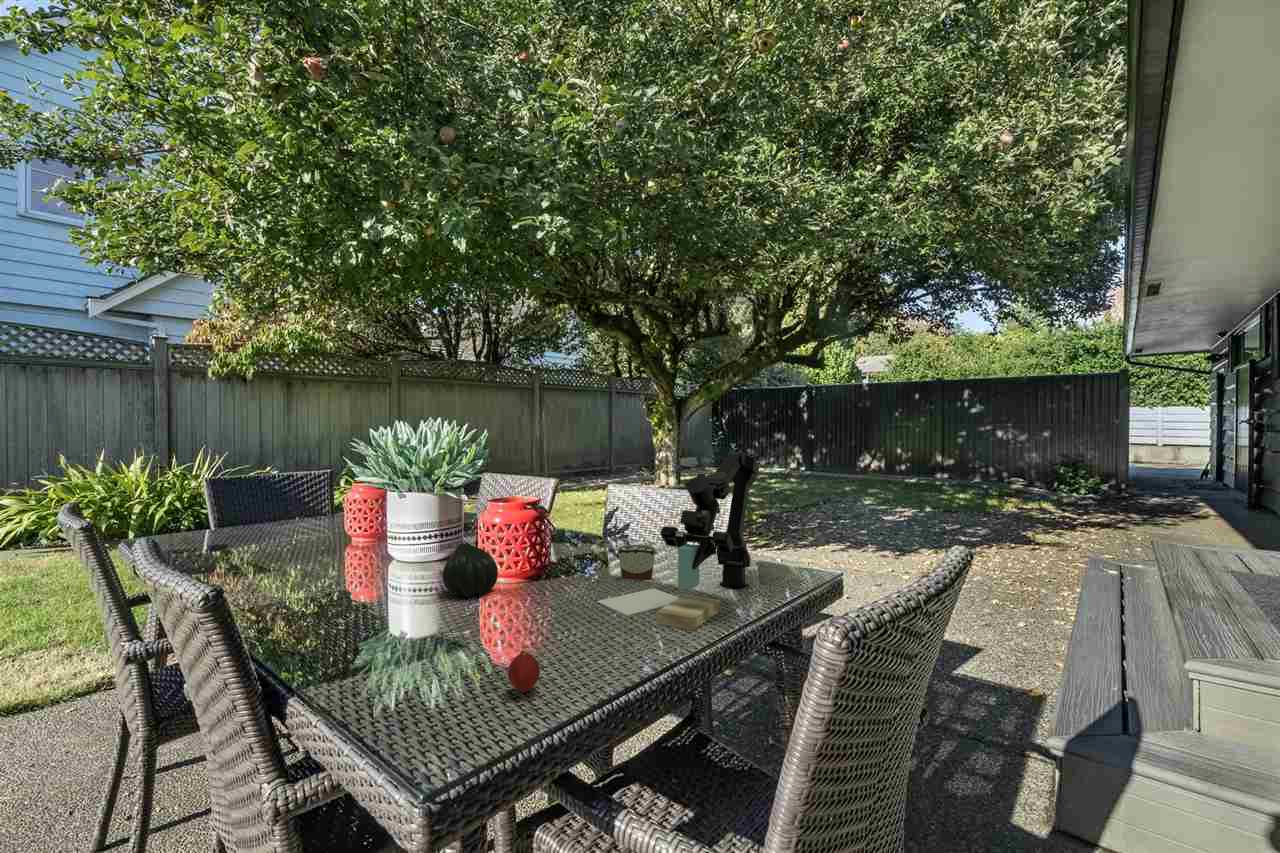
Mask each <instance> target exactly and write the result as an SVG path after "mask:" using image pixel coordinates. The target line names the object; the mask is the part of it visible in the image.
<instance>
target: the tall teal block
mask: <svg viewBox="0 0 1280 853" xmlns="http://www.w3.org/2000/svg"><path fill="white" fill-rule="evenodd" d="M698 549H699V545H696V544H688V543H687V544H686V545H684V546H681V547H679V548H678V547H677V559H678V560H677V589H678V588H679V589H684V590H693V589H694V588H696V587H698V586H699V585H700V565H699V566H698V567H697V568H696V569H693V568H692V566H693V562H694V559H695V557H696V554H697V552H698Z"/></svg>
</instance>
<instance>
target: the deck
mask: <svg viewBox="0 0 1280 853" xmlns="http://www.w3.org/2000/svg"><path fill="white" fill-rule="evenodd" d="M718 613H720V599H714V598H708V597H701V596H697V595H690V594H683V595H681V596H680V597H679V598H678V599H676V600H675V601H673V602H671V603H670V604H668V605H666V606H665V607H663V608H659V609H657V610H656V624H658V625H662V626H667V627H668V626H669V627H673V628H679V629H683V630H688V631H693V632H695V631H696V630H697V629H699V626H700V627H701V626H703V625H704V624H705V623H706V622H708V621H709V620H710V619H711V617H712V618H713V617H714V616H716V615H717V614H718ZM715 614H716V615H715ZM707 620H708V621H707ZM703 623H704V624H703ZM695 629H696V630H695Z"/></svg>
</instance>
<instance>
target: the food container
mask: <svg viewBox="0 0 1280 853" xmlns="http://www.w3.org/2000/svg"><path fill="white" fill-rule="evenodd" d="M616 551H617V553H616V555H618V557H619V558H618V560H619V567H620V569H619V570H620V578H621V581H629V579H631V580H652V581H653V573H654V572H653V571H654V565H655V564H654V562H655V557H656V556H657V550H656V548H655V547H654V546H652V545H649V544H626V545H621V546H619V547H618V548H617V550H616ZM624 579H626V580H624Z"/></svg>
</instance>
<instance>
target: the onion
mask: <svg viewBox="0 0 1280 853" xmlns="http://www.w3.org/2000/svg"><path fill="white" fill-rule="evenodd" d="M540 674H541V669H540V665H539V662H538V660H537V658H535V657H534V656H533V654H531V653H529V652H528V651H527V650H526V649H522V650H521V651H520V652H519V654H517V655H516V656H515V657H514V658H513V659H512V660H511V661H510V663H509V667H508V671H507V677H508V681H509V683H510V684H511V686H513V687H514V688H515V689H517V690H519V691H520V692H521V693H526V692H528V691H529V690H530V689H532V688H534V686H535V685H536V684H537V682H538V681H539V678H540Z"/></svg>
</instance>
